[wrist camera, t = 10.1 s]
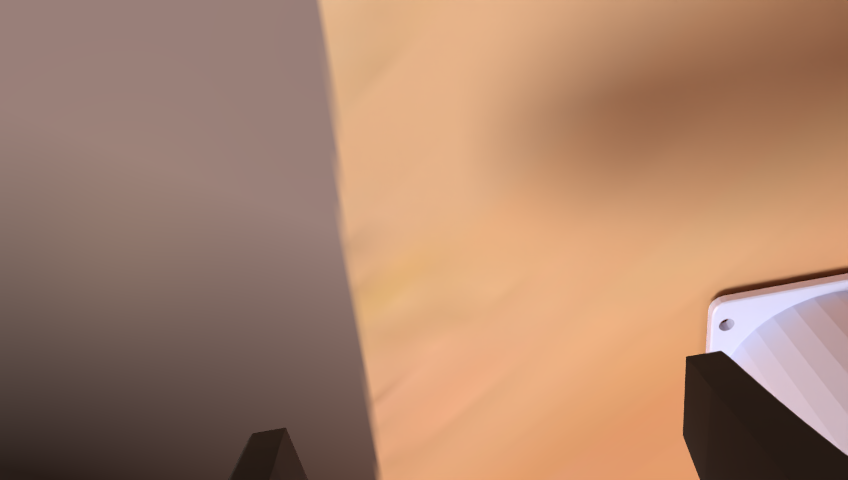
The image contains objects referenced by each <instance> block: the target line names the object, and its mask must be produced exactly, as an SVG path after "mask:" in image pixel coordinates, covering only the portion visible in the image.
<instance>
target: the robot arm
mask: <svg viewBox="0 0 848 480" xmlns="http://www.w3.org/2000/svg"><path fill="white" fill-rule="evenodd" d="M726 319H728V320H727V321H726V322H723V323H721V322H722V321H723V320H726ZM683 436H684V439H685V442H686V444H687V447H688V450H689V452H690V455H691V458H692V460H693V463H694V466H695V468H696V471H697V473H698V476H699V478H700V480H848V273H846V274H841V275H835V276H830V277H824V278H819V279H813V280H808V281H802V282H797V283H791V284H785V285H780V286H774V287H769V288H763V289H758V290H752V291H747V292H741V293H735V294H730V295H724V296H721V297H718V298H717V299H715V300H714V301H713V302H712V303H711V304H710V306H709V309H708V324H707V340H706V353H705V354H699V355H693V356H688V357H686V374H685V399H684V423H683ZM228 480H308V479H307V477H306V474H305V472H304V470H303V467H302V465H301V463H300V460H299V458H298V455H297V453H296V451H295V449H294V446H293V444H292V442H291V439H290V436H289V434H288V432H287V429H286V428H281V429H275V430H270V431H264V432H258V433H253V434H252V435H251V437H250V438H249V440H248V442H247V444H246V446H245V447H244V449H243V451H242V454H241V456H240V458H239V460H238V462H237V463H236V465H235V468H234V469H233V472H232V474H231V475H230V477H229V479H228Z"/></svg>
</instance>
